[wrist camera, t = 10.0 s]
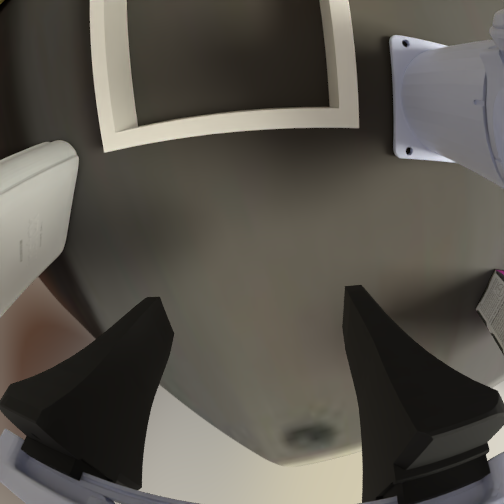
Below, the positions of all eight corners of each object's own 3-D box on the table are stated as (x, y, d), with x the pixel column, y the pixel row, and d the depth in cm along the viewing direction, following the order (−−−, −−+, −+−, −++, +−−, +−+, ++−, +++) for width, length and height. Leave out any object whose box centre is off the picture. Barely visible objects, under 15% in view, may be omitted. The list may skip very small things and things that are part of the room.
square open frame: (322, -66, 9) (328, -87, 6) (346, 123, 16) (359, 128, 13) (114, -31, 11) (92, -43, 8) (127, 143, 17) (104, 152, 15)
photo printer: (68, 256, 23) (-17, 351, 12) (35, 236, 22) (-52, 317, 11) (88, 150, 18) (-50, 223, 7) (50, 131, 17) (-81, 189, 6)
